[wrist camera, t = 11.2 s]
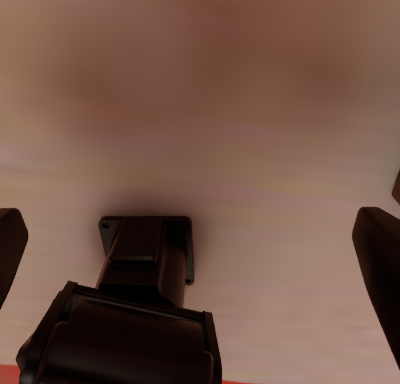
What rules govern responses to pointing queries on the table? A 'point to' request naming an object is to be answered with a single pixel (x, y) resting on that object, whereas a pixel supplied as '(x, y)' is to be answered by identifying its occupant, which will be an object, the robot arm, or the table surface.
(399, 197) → the walnut block
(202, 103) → the table surface
